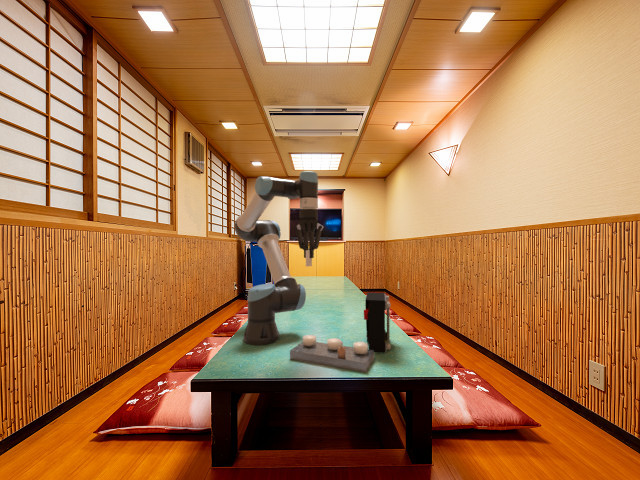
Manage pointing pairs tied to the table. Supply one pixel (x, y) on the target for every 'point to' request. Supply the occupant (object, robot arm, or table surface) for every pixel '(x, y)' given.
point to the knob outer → (360, 347)
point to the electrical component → (377, 321)
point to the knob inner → (309, 340)
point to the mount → (332, 356)
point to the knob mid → (333, 343)
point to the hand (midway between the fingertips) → (308, 266)
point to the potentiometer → (341, 351)
